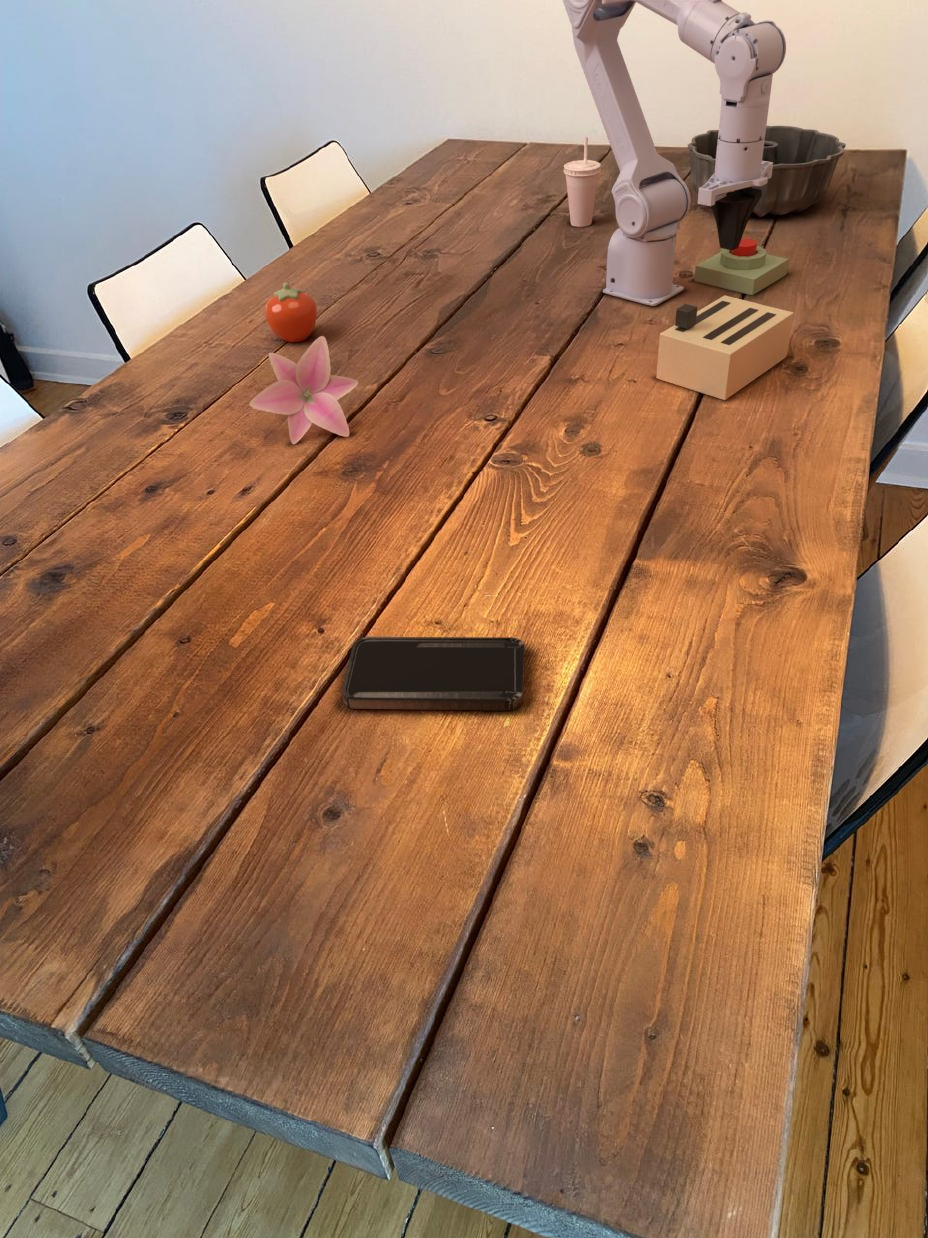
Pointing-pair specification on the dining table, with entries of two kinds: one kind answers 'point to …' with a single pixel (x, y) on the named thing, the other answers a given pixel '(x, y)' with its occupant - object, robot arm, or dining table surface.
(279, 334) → the tomato
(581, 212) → the smoothie
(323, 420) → the lily
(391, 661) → the phone
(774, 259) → the green button base
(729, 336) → the toaster
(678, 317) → the slider
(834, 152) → the bundt pan
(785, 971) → the dining table surface
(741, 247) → the timer button
